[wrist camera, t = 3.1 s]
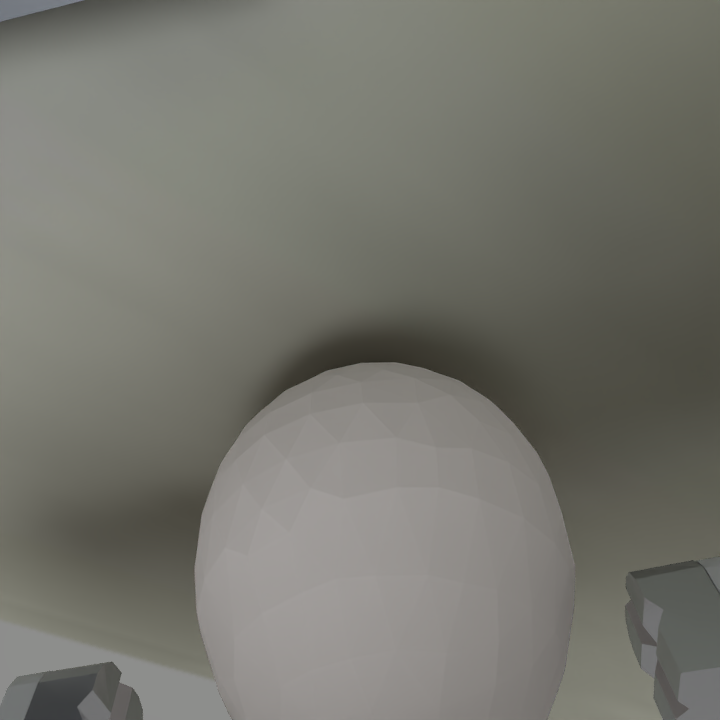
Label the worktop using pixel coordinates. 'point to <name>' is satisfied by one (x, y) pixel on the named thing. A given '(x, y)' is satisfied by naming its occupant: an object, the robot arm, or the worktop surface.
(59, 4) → the tray
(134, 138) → the worktop surface
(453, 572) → the egg
